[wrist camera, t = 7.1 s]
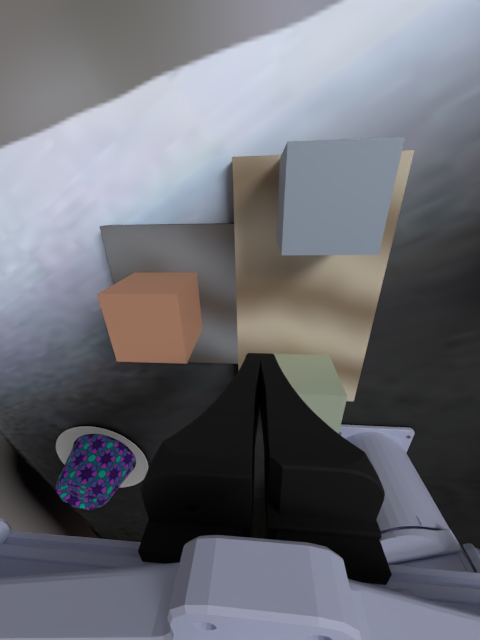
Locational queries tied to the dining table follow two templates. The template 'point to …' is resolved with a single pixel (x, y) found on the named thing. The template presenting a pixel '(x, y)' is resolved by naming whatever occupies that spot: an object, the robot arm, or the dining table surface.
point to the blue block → (336, 195)
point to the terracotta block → (153, 317)
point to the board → (264, 277)
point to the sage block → (316, 385)
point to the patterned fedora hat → (96, 466)
